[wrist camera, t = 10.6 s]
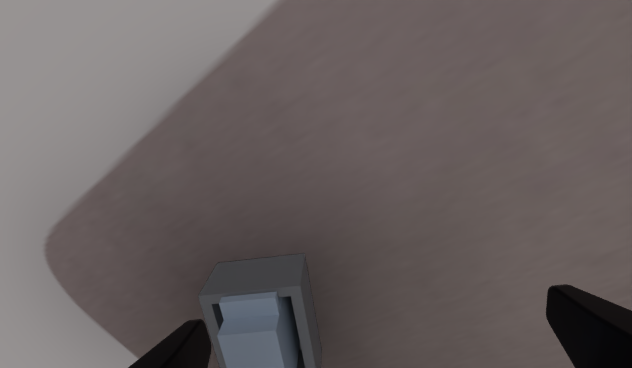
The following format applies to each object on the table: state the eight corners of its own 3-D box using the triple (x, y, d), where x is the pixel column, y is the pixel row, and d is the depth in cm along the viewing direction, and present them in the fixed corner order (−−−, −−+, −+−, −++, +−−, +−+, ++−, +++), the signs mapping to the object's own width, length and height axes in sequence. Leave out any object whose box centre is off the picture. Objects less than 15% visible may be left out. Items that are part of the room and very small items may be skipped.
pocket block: (321, 349, 23) (320, 393, 20) (242, 356, 24) (229, 399, 20) (304, 253, 21) (300, 285, 18) (217, 262, 21) (198, 295, 18)
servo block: (302, 353, 23) (296, 419, 18) (259, 357, 23) (243, 423, 19) (283, 261, 20) (271, 311, 16) (236, 267, 21) (211, 317, 16)
